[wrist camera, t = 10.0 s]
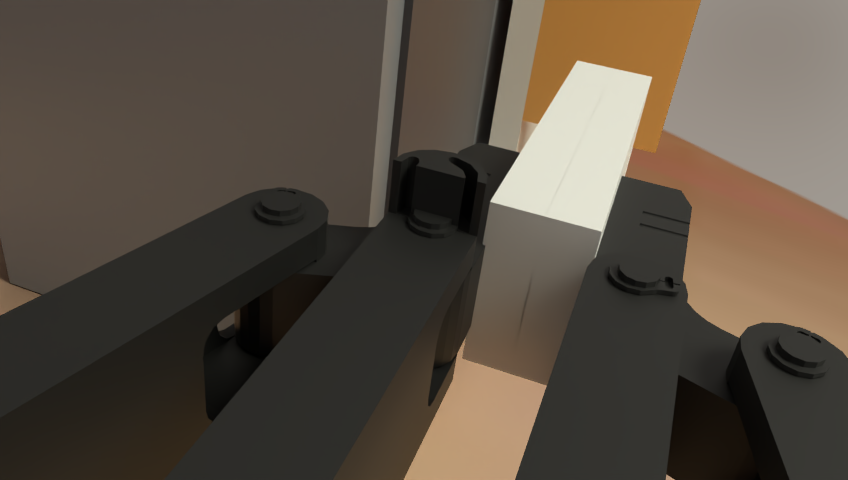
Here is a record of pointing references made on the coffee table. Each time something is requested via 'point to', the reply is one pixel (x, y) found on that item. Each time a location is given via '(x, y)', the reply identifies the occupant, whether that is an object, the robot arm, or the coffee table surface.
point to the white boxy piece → (588, 58)
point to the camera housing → (222, 112)
